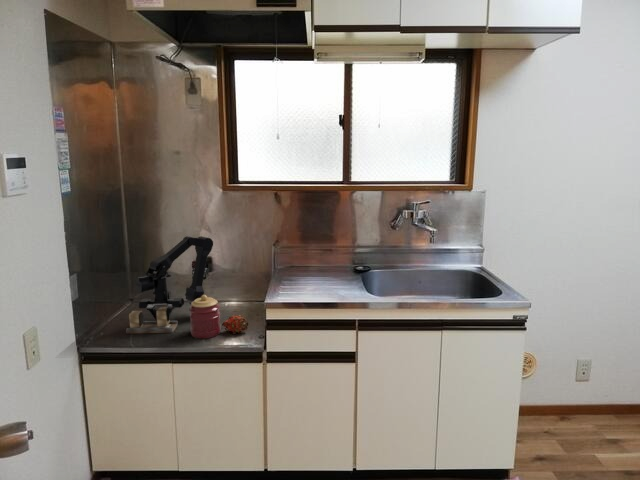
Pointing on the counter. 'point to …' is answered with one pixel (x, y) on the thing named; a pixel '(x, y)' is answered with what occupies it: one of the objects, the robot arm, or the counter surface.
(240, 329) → the dragon fruit
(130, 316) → the slider rail with block
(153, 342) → the counter surface
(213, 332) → the canister
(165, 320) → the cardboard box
